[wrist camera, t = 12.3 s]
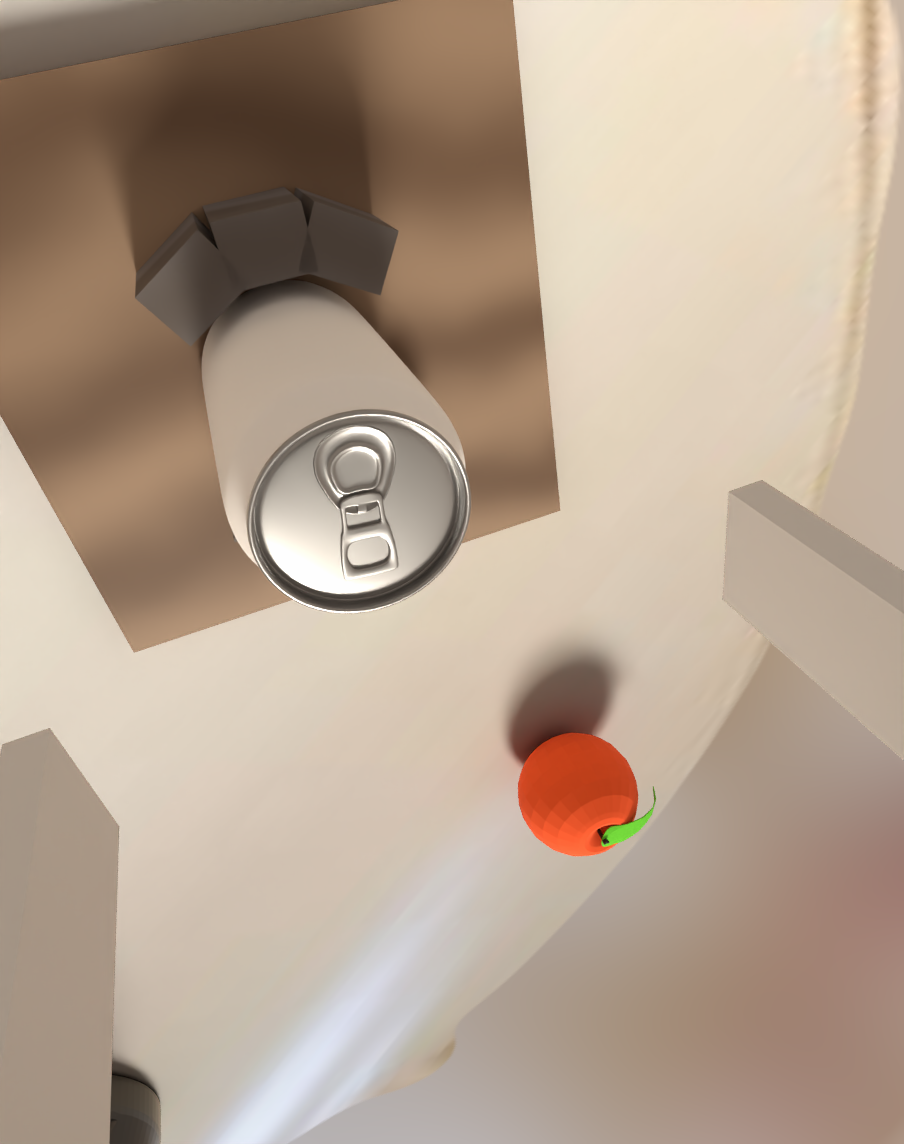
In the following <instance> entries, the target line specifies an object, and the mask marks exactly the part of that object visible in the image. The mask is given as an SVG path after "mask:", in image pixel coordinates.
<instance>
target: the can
mask: <svg viewBox="0 0 904 1144" xmlns="http://www.w3.org/2000/svg"><path fill="white" fill-rule="evenodd" d="M202 382H203V389H204V396H205V402H206V408H207V414H208V420H209V426H210V432H211V438H212V444H213V450H214V455H215V461H216V467H217V472H218V478H219V483H220V489H221V494H222V499H223V503H224V507H225V511H226V515H227V519H228V521H229V524H230V526H231V529H232V531H233V533H234V536H235V538H236V539H237V541H238V543H239V545H240V546H241V548H242V549H243V550H244V552H245V553H246V554H247V556H248V557H249V558H250V559H251V560H252V561H253V562H254V563H255V564H256V565H257V566H258V567H259V568H260V570H261V571H262V573H263V574H264V575H265V577H266V578H267V579H268V580H269V581H270V582H271V583H272V584H273V585H274V586H275V587H276V588H277V589H278V590H279V591H281V592H282V593H283V594H285V595H286V596H288V597H289V598H291V599H293V600H294V601H296V602H298V603H300V604H303V605H305V606H308V607H311V608H314V609H317V610H321V611H326V612H333V613H361V612H368V611H374V610H378V609H382V608H385V607H388V606H391V605H394V604H396V603H398V602H401V601H403V600H405V599H407V598H409V597H411V596H412V595H414V594H416V593H417V592H419V591H420V590H422V589H423V588H424V587H426V586H427V585H428V584H430V583H431V582H432V581H433V580H434V579H435V578H436V577H437V576H438V575H439V574H440V573H441V572H442V571H443V570H444V569H445V568H446V567H447V565H448V564H449V563H450V561H451V560H452V559H453V557H454V556H455V554H456V552H457V551H458V549H459V547H460V545H461V543H462V541H463V538H464V536H465V533H466V530H467V527H468V523H469V518H470V512H471V490H470V483H469V479H468V475H467V472H466V467H465V458H464V453H463V449H462V445H461V442H460V440H459V437H458V435H457V433H456V430H455V428H454V427H453V425H452V423H451V421H450V419H449V418H448V416H447V415H446V413H445V412H444V411H443V409H442V408H441V407H440V405H439V404H438V403H437V401H436V400H435V399H434V398H433V397H432V395H431V394H430V393H429V392H428V391H427V389H426V388H425V387H424V386H423V385H422V384H421V382H420V381H419V380H418V379H417V378H416V377H415V375H414V374H413V373H412V372H411V371H410V370H409V369H408V367H407V366H406V365H405V364H404V363H403V362H402V360H401V359H400V358H399V357H398V356H397V355H396V354H395V352H394V351H393V350H392V349H391V348H390V347H389V346H388V344H387V343H386V342H385V341H384V340H383V339H382V338H381V337H380V335H379V334H378V333H377V332H376V331H375V330H374V329H373V328H372V326H371V325H370V324H369V323H368V322H367V321H366V320H365V319H364V318H363V316H362V315H361V314H360V313H359V312H358V311H357V310H356V309H355V308H354V307H353V306H352V305H351V304H350V303H348V302H347V301H346V300H345V299H343V298H342V297H340V296H339V295H337V294H336V293H334V292H332V291H330V290H328V289H326V288H324V287H321V286H319V285H316V284H313V283H310V282H306V281H299V280H284V281H278V282H275V283H271V284H267V285H263V286H259V287H256V288H254V289H251V290H249V291H247V292H245V293H243V294H241V295H240V296H238V297H237V298H236V299H235V300H234V301H233V302H232V303H231V304H230V305H229V306H228V308H227V309H226V310H225V311H224V312H223V313H222V314H221V315H220V316H219V317H218V318H217V319H216V320H215V321H214V323H213V325H212V326H211V328H210V330H209V333H208V335H207V338H206V341H205V344H204V348H203V354H202Z"/></svg>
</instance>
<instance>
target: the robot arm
mask: <svg viewBox="0 0 904 1144" xmlns="http://www.w3.org/2000/svg"><path fill="white" fill-rule="evenodd" d="M722 599H723V600H724V601H725V602H726V603H727V604H728V605H729V606H730V607H732V608H733V609H734V610H735V611H736V612H737V613H738V614H739V615H740V616H742V617H743V618H744V619H745V620H746V621H747V622H748V623H749V624H751V625H752V626H753V627H754V628H755V629H756V630H757V631H758V632H760V633H761V634H762V635H763V636H764V637H765V638H766V639H767V640H769V641H770V642H771V643H772V644H773V645H774V646H775V647H776V648H778V649H779V650H780V651H781V652H782V653H783V654H784V655H786V656H787V657H788V658H789V659H790V660H791V661H792V662H793V663H794V664H796V665H797V666H798V667H799V668H800V669H801V670H803V672H805V673H806V674H807V675H808V676H809V677H810V678H811V679H812V680H813V681H815V682H816V683H817V684H818V685H819V686H820V687H821V688H823V689H824V690H825V691H826V692H827V693H828V694H829V695H830V696H832V697H833V698H834V699H835V700H836V701H837V702H838V703H839V704H841V705H842V706H843V707H844V708H845V709H846V710H847V711H848V712H849V713H851V714H852V715H853V716H854V717H855V718H856V719H857V720H859V722H861V723H862V724H863V725H864V726H865V727H866V728H867V729H868V730H870V731H871V732H872V733H873V734H874V735H875V736H876V737H878V738H879V739H880V740H881V741H882V742H883V743H884V744H885V745H886V746H888V747H889V748H890V749H891V750H892V751H893V752H894V753H896V754H897V755H898V756H899V757H900V758H901V759H902V760H903V761H904V571H903V570H901V569H900V568H898V567H897V566H895V565H893V564H892V563H890V562H889V561H887V560H886V559H884V558H883V557H881V556H880V555H878V554H876V553H875V552H873V551H872V550H870V549H869V548H867V547H865V546H864V545H862V544H861V543H859V542H858V541H856V540H855V539H853V538H851V537H850V536H848V535H847V534H845V533H844V532H842V531H841V530H839V529H837V528H836V527H834V526H833V525H831V524H830V523H828V522H826V521H825V520H823V519H822V518H820V517H819V516H817V515H816V514H814V513H812V512H811V511H809V510H808V509H806V508H805V507H803V506H802V505H800V504H798V503H797V502H795V501H794V500H792V499H791V498H789V497H788V496H786V495H784V494H783V493H781V492H780V491H778V490H777V489H775V488H774V487H772V486H770V485H769V484H767V483H766V482H764V481H763V480H761V481H758V482H755V483H752V484H749V485H746V486H743V487H740V488H738V489H735V490H732V491H729V494H728V511H727V528H726V546H725V563H724V580H723V598H722ZM118 848H119V826H118V824H117V823H116V821H115V820H114V818H113V817H112V816H111V814H110V813H109V811H108V810H107V808H106V807H105V806H104V804H103V803H102V801H101V800H100V799H99V797H98V796H97V794H96V793H95V791H94V790H93V789H92V787H91V786H90V784H89V783H88V782H87V780H86V779H85V777H84V776H83V774H82V773H81V772H80V770H79V769H78V767H77V766H76V765H75V763H74V762H73V760H72V759H71V757H70V756H69V755H68V753H67V752H66V750H65V749H64V747H63V746H62V745H61V743H60V742H59V740H58V739H57V738H56V736H55V735H54V733H53V732H52V730H51V729H50V728H48V729H46V730H43V731H40V732H37V733H34V734H31V735H28V736H25V737H23V738H20V739H17V740H14V741H11V742H8V743H5V744H2V749H1V754H0V1144H160V1142H161V1107H160V1102H159V1099H158V1097H157V1096H156V1094H155V1093H154V1092H153V1091H152V1090H151V1089H150V1088H149V1087H147V1086H146V1085H144V1084H142V1083H140V1082H138V1081H135V1080H132V1079H129V1078H126V1077H121V1076H116V1075H112V1044H113V1011H114V978H115V946H116V913H117V881H118Z"/></svg>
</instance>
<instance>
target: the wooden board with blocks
mask: <svg viewBox="0 0 904 1144" xmlns="http://www.w3.org/2000/svg"><path fill="white" fill-rule="evenodd" d="M284 280H299V281H306V282H310V283H313V284H316V285H319V286H321V287H324V288H326V289H328V290H330V291H332V292H334V293H336V294H337V295H339V296H340V297H342V298H343V299H345V300H346V301H347V302H348V303H350V304H351V305H352V306H353V307H354V308H355V309H356V310H357V311H358V312H359V313H360V314H361V315H362V316H363V318H364V319H365V320H366V321H367V322H368V323H369V324H370V325H371V326H372V328H373V329H374V330H375V331H376V332H377V333H378V334H379V335H380V337H381V338H382V339H383V340H384V341H385V342H386V343H387V344H388V346H389V347H390V348H391V349H392V350H393V351H394V352H395V354H396V355H397V356H398V357H399V358H400V359H401V360H402V362H403V363H404V364H405V365H406V366H407V367H408V369H409V370H410V371H411V372H412V373H413V374H414V375H415V377H416V378H417V379H418V380H419V381H420V382H421V384H422V385H423V386H424V387H425V388H426V389H427V391H428V392H429V393H430V394H431V395H432V397H433V398H434V399H435V400H436V401H437V403H438V404H439V405H440V407H441V408H442V409H443V411H444V412H445V413H446V415H447V416H448V418H449V419H450V421H451V423H452V425H453V427H454V428H455V430H456V433H457V435H458V437H459V440H460V442H461V445H462V449H463V453H464V458H465V467H466V472H467V475H468V479H469V483H470V490H471V512H470V518H469V523H468V527H467V530H466V533H465V536H464V538H463V541H462V543H464V542H467V541H470V540H473V539H476V538H479V537H482V536H485V535H488V534H491V533H494V532H497V531H500V530H503V529H506V528H509V527H512V526H515V525H518V524H521V523H524V522H527V521H530V520H533V519H536V518H539V517H542V516H545V515H548V514H551V513H554V512H557V511H560V503H559V492H558V482H557V471H556V460H555V449H554V438H553V428H552V417H551V406H550V395H549V385H548V374H547V363H546V352H545V341H544V331H543V320H542V309H541V298H540V288H539V277H538V266H537V255H536V244H535V234H534V223H533V212H532V201H531V191H530V180H529V169H528V158H527V147H526V137H525V126H524V115H523V104H522V94H521V83H520V72H519V61H518V50H517V40H516V29H515V18H514V7H513V0H397V1H392V2H387V3H382V4H377V5H372V6H367V7H362V8H357V9H352V10H347V11H342V12H337V13H332V14H327V15H322V16H317V17H312V18H307V19H302V20H297V21H292V22H287V23H282V24H277V25H272V26H267V27H262V28H257V29H252V30H247V31H242V32H237V33H232V34H227V35H222V36H217V37H212V38H207V39H202V40H197V41H192V42H187V43H182V44H177V45H172V46H167V47H162V48H157V49H152V50H147V51H142V52H137V53H132V54H127V55H122V56H117V57H112V58H107V59H102V60H97V61H92V62H87V63H82V64H77V65H72V66H67V67H62V68H57V69H52V70H47V71H42V72H37V73H32V74H27V75H22V76H17V77H12V78H7V79H2V80H0V415H1V417H2V419H3V421H4V422H5V424H6V426H7V428H8V430H9V431H10V433H11V435H12V437H13V438H14V440H15V442H16V444H17V446H18V447H19V449H20V451H21V453H22V454H23V456H24V458H25V460H26V462H27V463H28V465H29V467H30V469H31V470H32V472H33V474H34V476H35V478H36V479H37V481H38V483H39V485H40V486H41V488H42V490H43V492H44V493H45V495H46V497H47V499H48V501H49V502H50V504H51V506H52V508H53V509H54V511H55V513H56V515H57V517H58V518H59V520H60V522H61V524H62V525H63V527H64V529H65V531H66V533H67V534H68V536H69V538H70V540H71V541H72V543H73V545H74V547H75V549H76V550H77V552H78V554H79V556H80V557H81V559H82V561H83V563H84V565H85V566H86V568H87V570H88V572H89V573H90V575H91V577H92V579H93V581H94V582H95V584H96V586H97V588H98V589H99V591H100V593H101V595H102V597H103V598H104V600H105V602H106V604H107V605H108V607H109V609H110V611H111V613H112V614H113V616H114V618H115V620H116V621H117V623H118V625H119V627H120V629H121V630H122V632H123V634H124V636H125V637H126V639H127V641H128V643H129V644H130V646H131V648H132V650H133V652H137V651H140V650H143V649H146V648H149V647H152V646H155V645H158V644H161V643H164V642H167V641H170V640H173V639H176V638H179V637H182V636H185V635H188V634H191V633H194V632H197V631H200V630H203V629H206V628H209V627H212V626H215V625H218V624H221V623H224V622H227V621H230V620H233V619H236V618H239V617H242V616H245V615H248V614H251V613H254V612H257V611H260V610H263V609H266V608H269V607H272V606H275V605H278V604H281V603H284V602H287V601H290V600H293V599H291V598H289V597H288V596H286V595H285V594H283V593H282V592H281V591H279V590H278V589H277V588H276V587H275V586H274V585H273V584H272V583H271V582H270V581H269V580H268V579H267V578H266V577H265V575H264V574H263V573H262V571H261V570H260V568H259V567H258V566H257V565H256V564H255V563H254V562H253V561H252V560H251V559H250V558H249V557H248V556H247V554H246V553H245V552H244V550H243V549H242V548H241V546H240V545H239V543H238V541H237V539H236V538H235V536H234V533H233V531H232V529H231V526H230V524H229V521H228V519H227V515H226V511H225V507H224V503H223V499H222V494H221V489H220V483H219V478H218V472H217V467H216V461H215V455H214V450H213V444H212V438H211V432H210V426H209V420H208V414H207V408H206V402H205V396H204V389H203V382H202V354H203V348H204V344H205V341H206V338H207V335H208V333H209V330H210V328H211V326H212V325H213V323H214V321H215V320H216V319H217V318H218V317H219V316H220V315H221V314H222V313H223V312H224V311H225V310H226V309H227V308H228V306H229V305H230V304H231V303H232V302H233V301H234V300H235V299H236V298H237V297H238V296H240V295H241V294H243V293H245V292H247V291H249V290H251V289H254V288H256V287H259V286H263V285H267V284H271V283H275V282H278V281H284Z"/></svg>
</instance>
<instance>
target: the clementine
mask: <svg viewBox="0 0 904 1144" xmlns="http://www.w3.org/2000/svg"><path fill="white" fill-rule="evenodd" d="M653 793H654V805H655V801H656V796H655V791H654V787H653ZM518 798H519V806H520V809H521V812H522V815H523V818H524V820H525V822H526V823H527V825H528V826H529V828H530V829H531V831H532V832H533V834H534V835H535V836H536V837H537V838H538V839H539V840H541V841H542V842H543V843H545V844H546V845H547V846H549V847H550V848H552V849H553V850H555V851H558V852H561V853H564V854H567V855H571V856H589V855H595V854H599V853H602V852H605V851H607V850H609V849H610V848H612V847H613V846H615V845H616V844H617V843H619V842H622V841H624V840H626V839H628V838H629V837H631V836H633V835H634V834H635V833H637V832H638V831H639V830H640V829H641V828H642V827H643V826H644V825H645V823H646V822H647V821H648V819H649V818H650V816H651V815H652V812H653V809H654V805H653V808H652V809H651V810H650V811H649V812H648V813H647V814H646V815H644V816H643V817H642V818H640V819H637V820H635V821H634V818H635V815H636V810H637V804H638V790H637V784H636V780H635V777H634V774H633V772H632V770H631V768H630V766H629V764H628V762H627V760H626V759H625V758H624V757H623V756H622V755H621V754H620V753H619V752H618V750H616V749H615V748H614V747H613V746H612V745H611V744H610V743H608V742H606V741H604V740H602V739H601V738H598V737H596V736H593V735H590V734H583V733H566V734H561V735H558V736H555V737H553V738H551V739H549V740H547V741H545V742H544V743H542V744H541V745H540V746H538V747H537V748H536V749H535V750H534V751H533V752H532V753H531V754H530V756H529V757H528V758H527V760H526V762H525V764H524V766H523V769H522V772H521V774H520V778H519V782H518Z"/></svg>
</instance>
